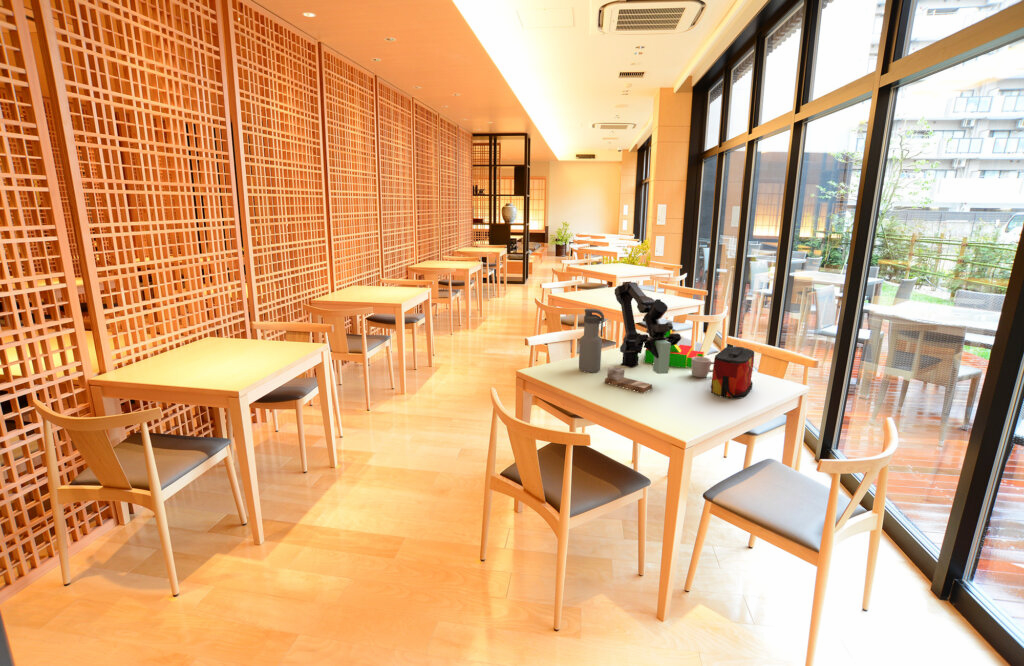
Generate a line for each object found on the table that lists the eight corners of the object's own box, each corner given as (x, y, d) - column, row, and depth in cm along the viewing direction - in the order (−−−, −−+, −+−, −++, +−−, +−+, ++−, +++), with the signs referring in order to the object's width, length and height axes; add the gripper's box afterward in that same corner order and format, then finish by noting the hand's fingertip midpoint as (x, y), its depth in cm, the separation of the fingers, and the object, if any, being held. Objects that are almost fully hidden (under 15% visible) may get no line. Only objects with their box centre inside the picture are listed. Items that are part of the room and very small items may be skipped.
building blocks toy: (698, 370, 243) (702, 332, 239) (644, 362, 254) (647, 325, 250) (703, 360, 260) (707, 324, 256) (652, 353, 271) (655, 318, 266)
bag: (724, 376, 234) (728, 341, 230) (757, 382, 226) (762, 346, 223) (705, 395, 210) (709, 355, 206) (741, 402, 202) (747, 361, 199)
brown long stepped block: (604, 382, 223) (605, 369, 221) (613, 379, 228) (614, 365, 226) (643, 393, 211) (644, 378, 209) (651, 389, 216) (652, 375, 214)
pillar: (652, 370, 221) (655, 340, 218) (662, 369, 222) (665, 340, 219) (657, 373, 217) (660, 343, 214) (667, 373, 218) (670, 343, 215)
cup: (712, 374, 237) (714, 357, 235) (717, 379, 229) (719, 362, 228) (688, 373, 238) (689, 356, 236) (692, 378, 230) (693, 361, 229)
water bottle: (600, 367, 244) (604, 308, 238) (601, 373, 235) (604, 312, 228) (578, 366, 246) (581, 307, 239) (578, 372, 236) (581, 311, 230)
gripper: (639, 315, 216) (649, 349, 208) (681, 314, 219) (692, 347, 212) (630, 329, 225) (639, 362, 217) (670, 328, 229) (680, 360, 221)
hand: (663, 357), depth 217 cm, fingers closed on pillar, 4 cm apart
